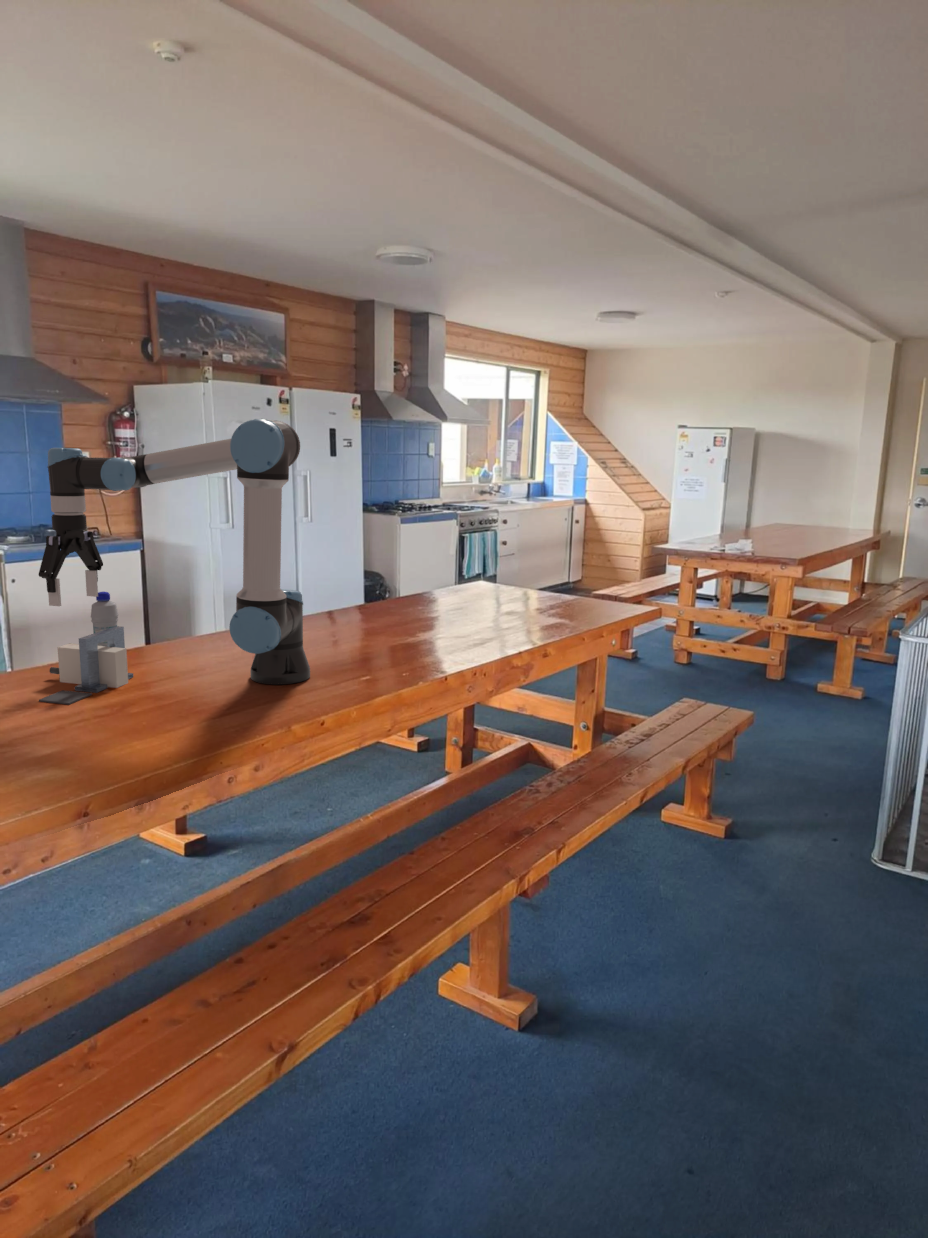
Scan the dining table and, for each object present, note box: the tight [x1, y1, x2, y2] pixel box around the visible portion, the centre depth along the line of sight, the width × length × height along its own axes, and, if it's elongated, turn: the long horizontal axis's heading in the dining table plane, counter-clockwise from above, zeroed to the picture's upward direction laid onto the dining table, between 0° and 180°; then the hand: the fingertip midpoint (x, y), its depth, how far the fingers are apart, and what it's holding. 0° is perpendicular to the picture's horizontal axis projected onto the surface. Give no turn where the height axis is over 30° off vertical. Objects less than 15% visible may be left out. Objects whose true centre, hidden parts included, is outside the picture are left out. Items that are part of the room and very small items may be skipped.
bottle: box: [90, 591, 119, 647], centre depth 222 cm, size 7×7×20 cm
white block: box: [49, 642, 129, 689], centre depth 208 cm, size 20×4×9 cm, turn 77°
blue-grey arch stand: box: [74, 625, 134, 694], centre depth 206 cm, size 6×14×13 cm, turn 167°
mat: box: [38, 689, 93, 705], centre depth 195 cm, size 8×8×1 cm
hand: (74, 600), depth 205 cm, fingers open, 13 cm apart
